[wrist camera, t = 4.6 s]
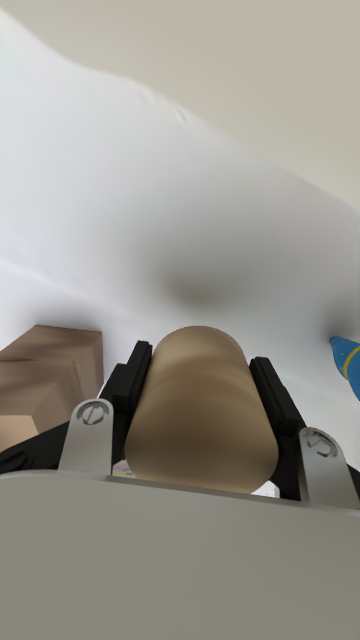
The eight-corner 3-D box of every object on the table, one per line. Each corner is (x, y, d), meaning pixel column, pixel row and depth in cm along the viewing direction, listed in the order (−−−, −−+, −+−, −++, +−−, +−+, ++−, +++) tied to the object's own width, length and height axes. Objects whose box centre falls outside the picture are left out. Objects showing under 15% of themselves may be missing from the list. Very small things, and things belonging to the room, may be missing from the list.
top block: (73, 359, 16) (31, 415, 12) (89, 420, 19) (59, 485, 14) (-9, 360, 17) (-81, 415, 12) (18, 420, 19) (-34, 484, 15)
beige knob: (256, 333, 11) (300, 411, 6) (234, 410, 13) (256, 512, 8) (154, 319, 11) (126, 388, 7) (147, 398, 13) (122, 493, 9)
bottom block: (102, 332, 21) (79, 364, 17) (103, 382, 24) (84, 423, 19) (36, 324, 21) (-5, 355, 16) (45, 376, 23) (11, 415, 19)
